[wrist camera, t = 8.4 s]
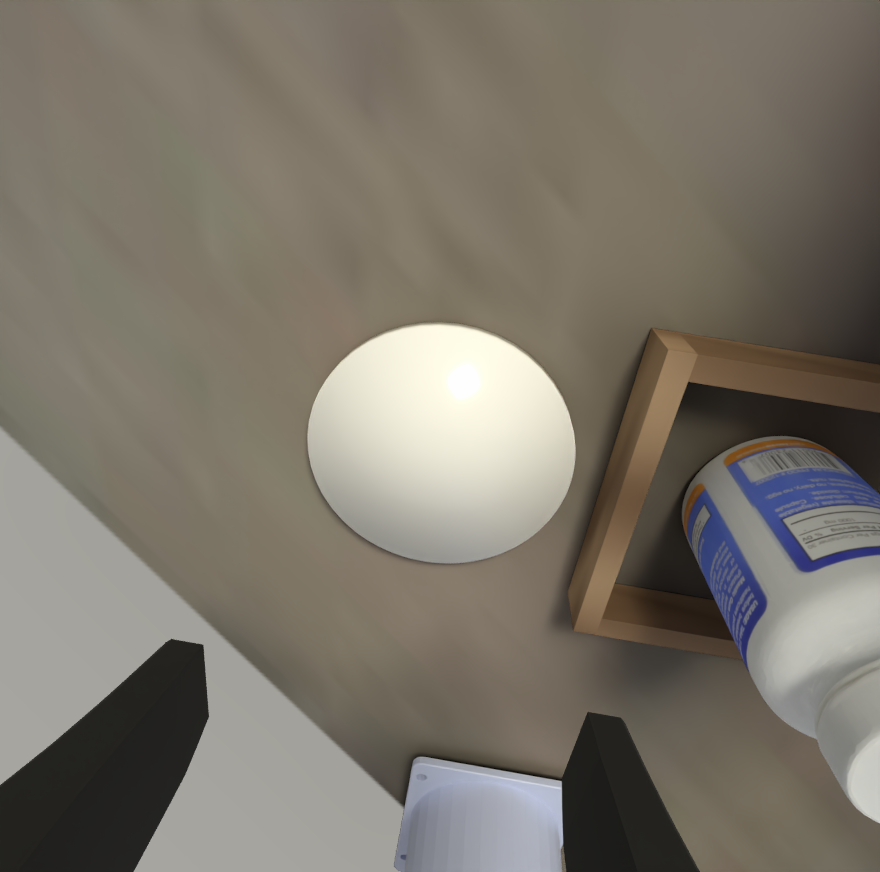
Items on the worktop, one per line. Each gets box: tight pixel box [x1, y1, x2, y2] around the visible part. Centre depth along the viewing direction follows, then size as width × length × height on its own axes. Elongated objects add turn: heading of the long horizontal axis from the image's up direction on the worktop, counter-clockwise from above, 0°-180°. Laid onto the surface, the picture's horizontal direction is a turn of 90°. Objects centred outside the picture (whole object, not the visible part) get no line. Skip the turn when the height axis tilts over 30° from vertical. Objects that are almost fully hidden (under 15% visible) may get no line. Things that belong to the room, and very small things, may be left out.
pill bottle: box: [682, 436, 880, 823], centre depth 15 cm, size 5×5×10 cm
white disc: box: [307, 322, 576, 563], centre depth 20 cm, size 9×9×1 cm
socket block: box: [568, 328, 880, 660], centre depth 19 cm, size 11×11×2 cm
